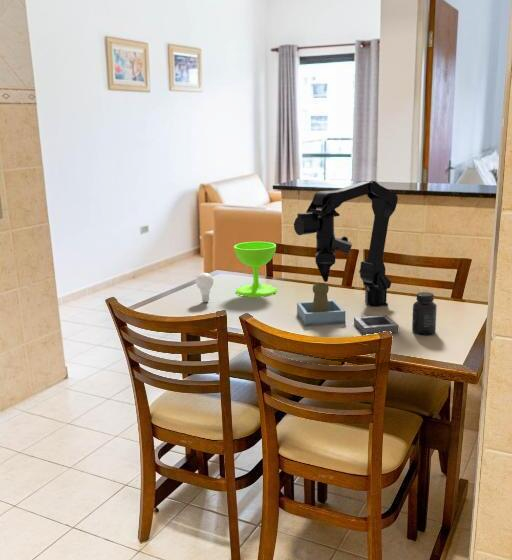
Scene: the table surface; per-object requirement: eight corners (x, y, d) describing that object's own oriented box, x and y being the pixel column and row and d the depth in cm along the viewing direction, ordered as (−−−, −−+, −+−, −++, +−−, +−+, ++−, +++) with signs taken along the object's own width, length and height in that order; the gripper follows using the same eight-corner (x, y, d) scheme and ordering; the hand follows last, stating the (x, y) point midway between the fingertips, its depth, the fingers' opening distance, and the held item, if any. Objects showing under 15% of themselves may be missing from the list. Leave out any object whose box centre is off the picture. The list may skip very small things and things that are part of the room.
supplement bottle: (409, 329, 188) (410, 291, 185) (430, 328, 189) (432, 290, 186) (416, 336, 181) (417, 297, 179) (438, 335, 182) (440, 296, 179)
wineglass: (277, 296, 227) (276, 249, 223) (234, 297, 228) (232, 250, 223) (276, 285, 243) (275, 241, 239) (236, 286, 243) (234, 242, 239)
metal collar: (386, 322, 195) (386, 315, 194) (398, 333, 185) (398, 325, 184) (353, 324, 194) (354, 317, 193) (364, 335, 183) (364, 327, 183)
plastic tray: (334, 311, 208) (334, 300, 207) (345, 323, 195) (345, 311, 194) (297, 314, 206) (296, 302, 205) (305, 326, 194) (305, 313, 193)
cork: (333, 317, 199) (333, 284, 196) (316, 319, 197) (316, 286, 194) (324, 312, 204) (324, 280, 202) (308, 314, 202) (308, 282, 200)
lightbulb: (193, 303, 222) (192, 274, 219) (201, 299, 227) (200, 270, 225) (209, 305, 219) (208, 275, 217) (217, 300, 225) (216, 271, 222)
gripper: (351, 236, 188) (351, 285, 192) (349, 225, 206) (349, 270, 210) (315, 236, 189) (315, 285, 193) (316, 226, 207) (316, 271, 211)
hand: (325, 278), depth 202 cm, fingers open, 9 cm apart
